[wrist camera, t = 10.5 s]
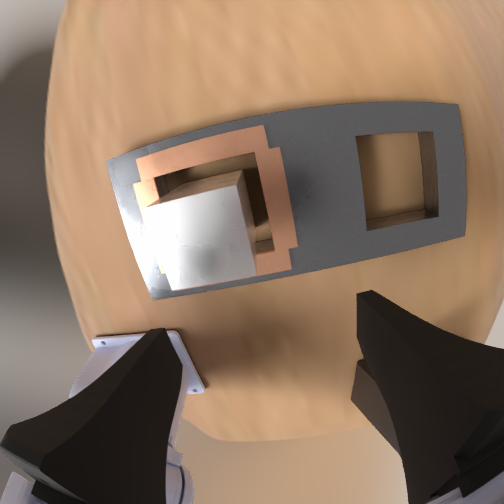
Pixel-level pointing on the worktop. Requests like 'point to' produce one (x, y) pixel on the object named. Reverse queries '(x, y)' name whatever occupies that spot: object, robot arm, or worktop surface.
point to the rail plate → (306, 186)
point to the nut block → (205, 231)
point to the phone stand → (373, 403)
